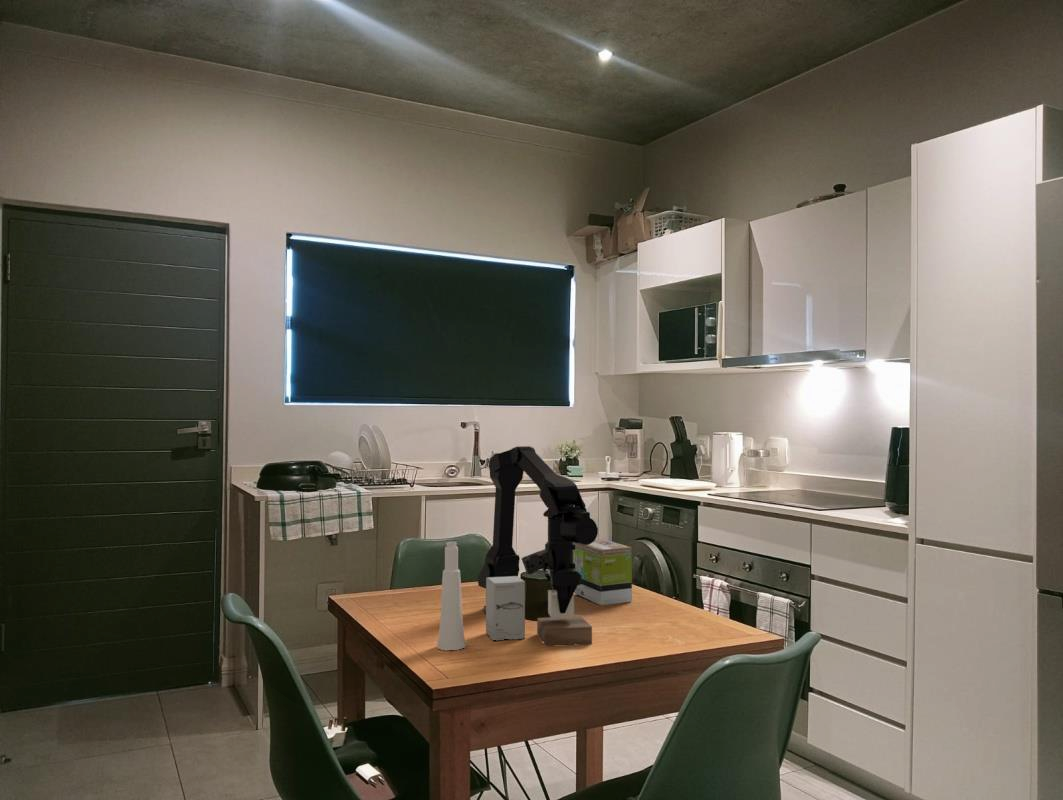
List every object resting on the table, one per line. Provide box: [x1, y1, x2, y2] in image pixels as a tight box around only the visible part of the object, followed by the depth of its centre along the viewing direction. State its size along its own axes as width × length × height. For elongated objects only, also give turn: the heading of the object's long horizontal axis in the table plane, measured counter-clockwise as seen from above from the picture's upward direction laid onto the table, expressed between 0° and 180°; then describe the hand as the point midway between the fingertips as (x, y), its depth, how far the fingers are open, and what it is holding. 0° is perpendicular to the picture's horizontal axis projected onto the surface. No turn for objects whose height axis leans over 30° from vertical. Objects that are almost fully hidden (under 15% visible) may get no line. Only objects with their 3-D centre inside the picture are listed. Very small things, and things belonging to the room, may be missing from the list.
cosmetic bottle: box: [436, 541, 466, 651], centre depth 173 cm, size 6×6×22 cm
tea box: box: [574, 538, 633, 606], centre depth 220 cm, size 15×10×15 cm, turn 25°
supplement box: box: [485, 575, 526, 641], centre depth 181 cm, size 7×7×13 cm
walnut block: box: [536, 615, 593, 647], centre depth 179 cm, size 10×10×4 cm
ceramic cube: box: [547, 589, 575, 618], centre depth 180 cm, size 5×5×5 cm
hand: (560, 610), depth 180 cm, fingers closed on ceramic cube, 5 cm apart
